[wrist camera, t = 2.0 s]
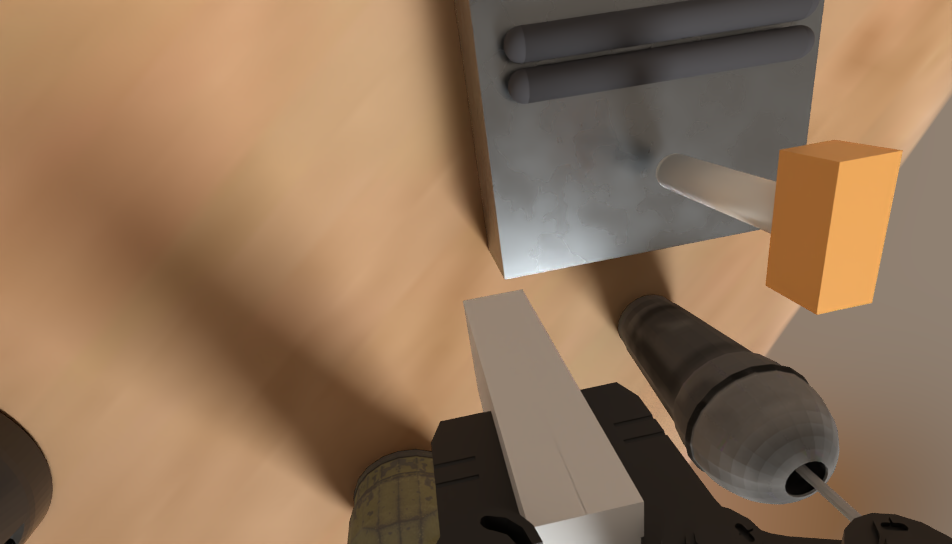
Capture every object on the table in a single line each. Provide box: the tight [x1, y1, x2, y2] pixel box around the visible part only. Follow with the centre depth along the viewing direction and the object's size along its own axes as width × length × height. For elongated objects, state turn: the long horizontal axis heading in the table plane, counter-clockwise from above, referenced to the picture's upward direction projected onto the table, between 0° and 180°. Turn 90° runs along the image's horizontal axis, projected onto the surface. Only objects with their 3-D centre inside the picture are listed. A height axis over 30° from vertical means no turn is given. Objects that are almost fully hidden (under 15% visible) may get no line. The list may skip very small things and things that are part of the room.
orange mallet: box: [656, 140, 903, 315], centre depth 21 cm, size 2×5×12 cm, turn 8°
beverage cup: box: [618, 295, 861, 521], centre depth 28 cm, size 7×7×20 cm
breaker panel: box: [454, 0, 824, 279], centre depth 27 cm, size 18×22×5 cm
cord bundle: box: [504, 0, 820, 104], centre depth 24 cm, size 16×3×2 cm, turn 98°
